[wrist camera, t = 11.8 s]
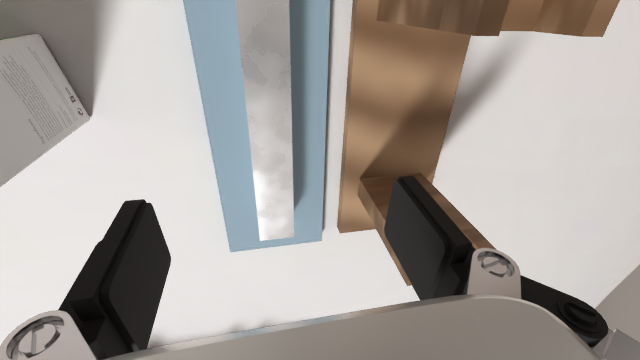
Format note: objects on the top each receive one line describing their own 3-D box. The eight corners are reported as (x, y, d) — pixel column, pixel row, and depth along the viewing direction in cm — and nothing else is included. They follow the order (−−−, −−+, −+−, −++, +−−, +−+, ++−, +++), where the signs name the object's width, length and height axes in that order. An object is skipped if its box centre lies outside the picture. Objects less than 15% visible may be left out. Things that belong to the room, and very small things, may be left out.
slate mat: (159, -146, 17) (154, -154, 16) (330, -127, 18) (334, -133, 17) (230, 245, 32) (230, 252, 31) (320, 234, 34) (321, 240, 33)
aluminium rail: (231, -55, 18) (228, -65, 16) (282, -52, 19) (287, -60, 16) (259, 219, 30) (259, 240, 27) (290, 216, 30) (294, 236, 28)
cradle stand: (360, -103, 19) (496, -232, 9) (492, -90, 21) (742, -183, 10) (337, 226, 34) (377, 331, 23) (416, 217, 36) (488, 310, 25)
